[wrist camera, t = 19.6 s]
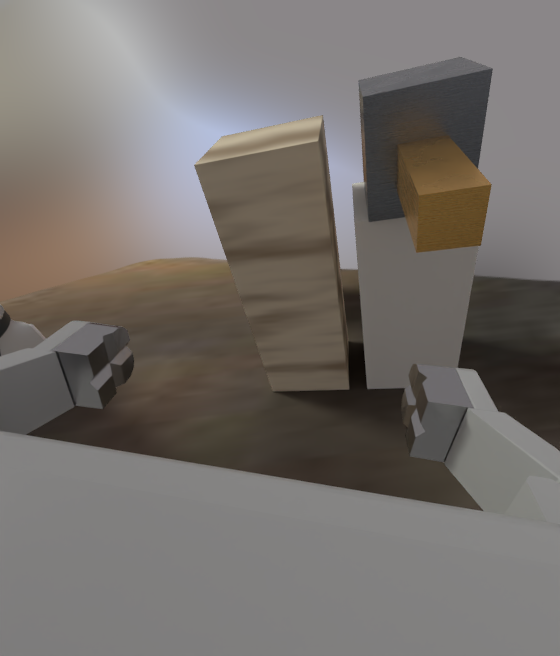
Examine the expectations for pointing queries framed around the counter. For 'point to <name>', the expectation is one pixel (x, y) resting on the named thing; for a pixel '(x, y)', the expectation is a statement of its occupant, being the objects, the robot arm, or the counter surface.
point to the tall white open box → (408, 299)
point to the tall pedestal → (282, 249)
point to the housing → (427, 151)
